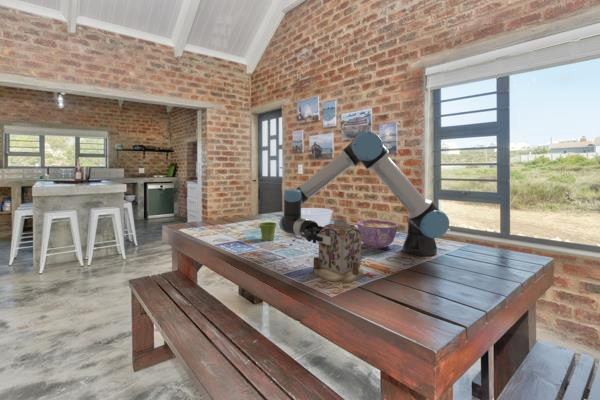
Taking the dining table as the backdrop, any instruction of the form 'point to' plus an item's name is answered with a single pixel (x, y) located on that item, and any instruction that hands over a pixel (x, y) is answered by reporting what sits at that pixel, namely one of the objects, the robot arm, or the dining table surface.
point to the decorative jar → (340, 247)
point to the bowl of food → (377, 232)
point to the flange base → (334, 276)
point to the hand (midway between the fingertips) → (343, 238)
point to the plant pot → (268, 230)
